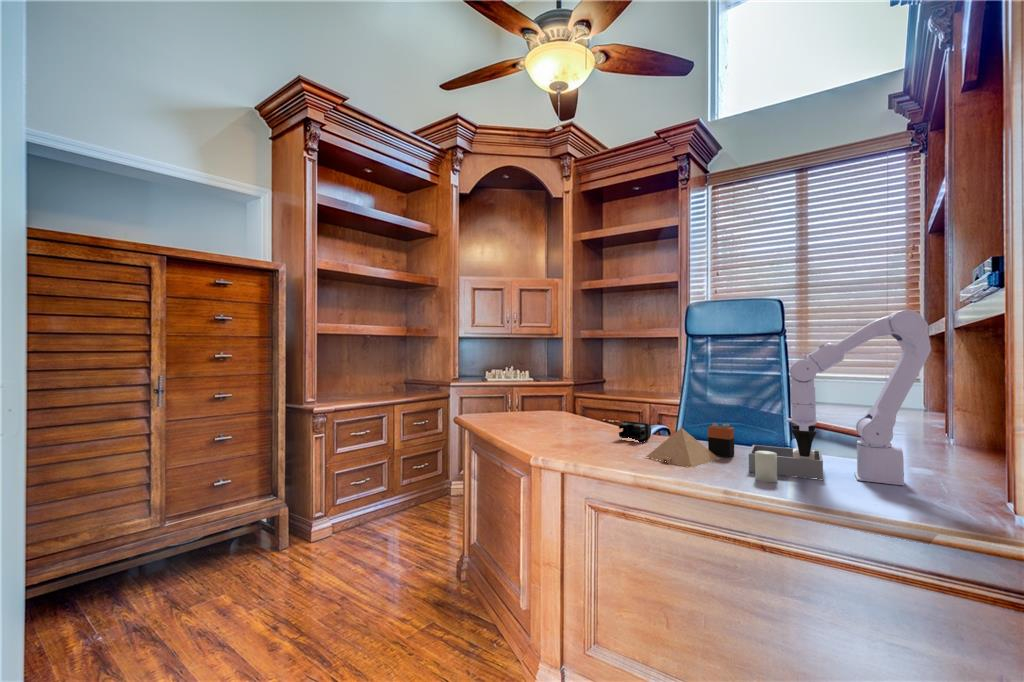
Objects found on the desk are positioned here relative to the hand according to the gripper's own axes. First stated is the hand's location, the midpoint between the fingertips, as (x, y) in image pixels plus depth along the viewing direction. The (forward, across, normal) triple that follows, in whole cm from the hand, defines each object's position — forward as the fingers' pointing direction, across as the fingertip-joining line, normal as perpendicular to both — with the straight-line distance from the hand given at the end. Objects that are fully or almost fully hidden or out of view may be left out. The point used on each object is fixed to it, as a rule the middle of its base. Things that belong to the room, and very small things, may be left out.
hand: (804, 453), depth 130 cm
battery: (+5, -11, -23) cm, 26 cm away
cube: (+4, 0, 0) cm, 4 cm away
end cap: (+5, -21, -54) cm, 58 cm away
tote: (+5, 0, -5) cm, 7 cm away
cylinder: (+5, +13, -9) cm, 16 cm away
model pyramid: (+6, 0, -33) cm, 33 cm away
